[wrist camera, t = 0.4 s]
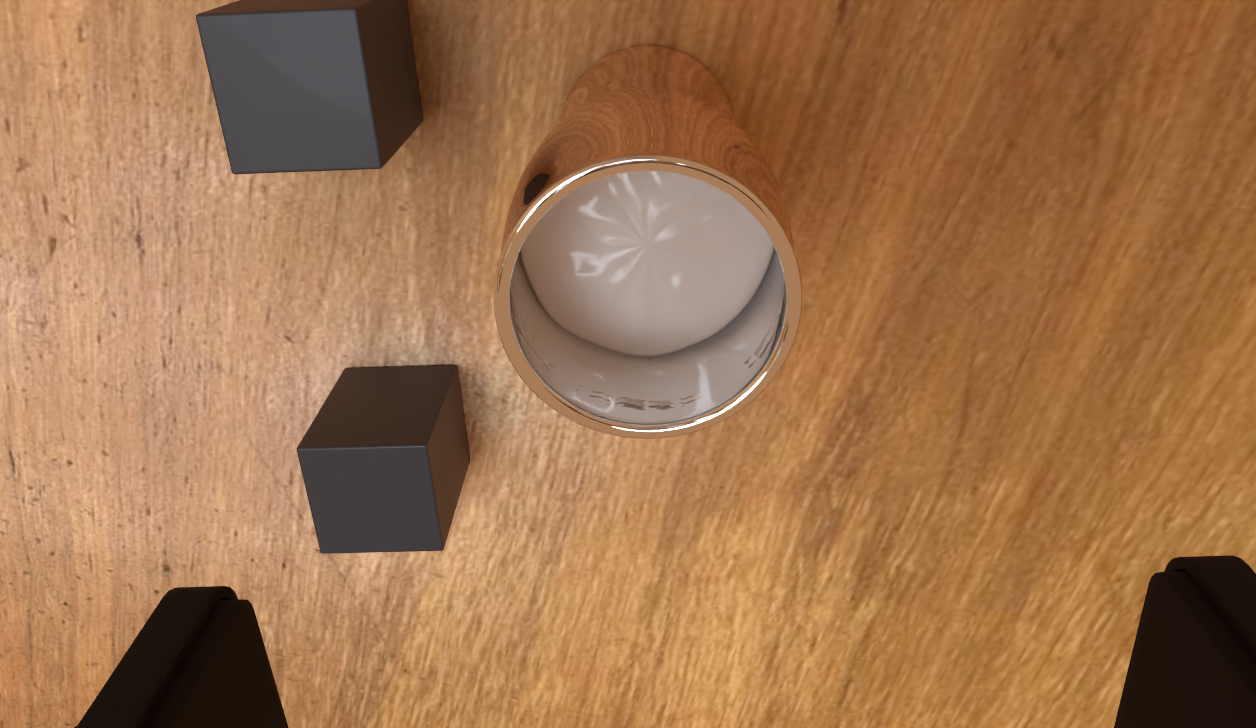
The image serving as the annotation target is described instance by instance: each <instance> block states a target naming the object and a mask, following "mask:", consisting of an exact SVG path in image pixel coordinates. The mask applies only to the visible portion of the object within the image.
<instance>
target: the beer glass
mask: <svg viewBox="0 0 1256 728" xmlns="http://www.w3.org/2000/svg"><path fill="white" fill-rule="evenodd" d="M801 309H802V283H801V276H800V270H799V265H798V262H797V258H796V255H795V249H794V243H793V237H792V232H791V226H790V221H789V217H788V214H787V210H786V207H785V204H784V200H783V197H782V194H781V191H780V188H779V186H778V183H777V181H776V179H775V176H774V175H773V173H772V171H771V169H770V167H769V165H768V163H767V162H766V160H765V158H764V156H763V154H762V153H761V151H760V150H759V148H758V147H757V145H756V144H755V142H754V141H753V140H752V139H751V137H750V136H749V135H748V134H747V133H746V132H745V131H744V130H743V129H742V128H741V127H740V126H739V125H738V124H737V123H736V122H735V121H734V118H733V113H732V109H731V106H730V103H729V100H728V98H727V96H726V93H725V92H724V90H723V88H722V86H721V85H720V83H719V82H718V80H717V79H716V78H715V77H714V75H713V74H712V73H711V72H710V71H709V70H708V69H707V68H706V67H705V66H703V65H702V64H701V63H700V62H698V61H697V60H695V59H694V58H692V57H690V56H688V55H687V54H684V53H682V52H680V51H677V50H674V49H671V48H667V47H662V46H653V45H641V46H633V47H628V48H624V49H621V50H618V51H616V52H613V53H611V54H609V55H607V56H605V57H603V58H602V59H600V60H599V61H597V62H596V63H594V64H593V65H592V66H591V67H589V68H588V69H587V70H586V71H585V72H584V73H583V74H582V75H581V76H580V78H579V79H578V80H577V81H576V83H575V84H574V86H573V87H572V89H571V91H570V93H569V94H568V97H567V99H566V101H565V104H564V107H563V110H562V114H561V120H560V123H559V124H558V125H556V126H555V127H554V128H553V129H552V130H551V131H550V132H549V134H548V135H547V136H546V137H545V138H544V139H543V141H542V142H541V143H540V145H539V146H538V147H537V149H536V150H535V152H534V154H533V155H532V157H531V159H530V161H529V163H528V164H527V166H526V168H525V170H524V172H523V174H522V176H521V178H520V180H519V182H518V184H517V187H516V190H515V193H514V196H513V199H512V202H511V206H510V209H509V212H508V216H507V220H506V224H505V229H504V235H503V241H502V247H501V255H500V258H499V262H498V265H497V270H496V275H495V282H494V311H495V318H496V323H497V328H498V332H499V335H500V338H501V341H502V344H503V347H504V349H505V351H506V354H507V355H508V357H509V359H510V361H511V363H512V365H513V366H514V368H515V370H516V371H517V373H518V374H519V375H520V377H521V378H522V379H523V381H524V382H525V383H526V384H527V385H528V387H529V388H530V389H531V390H532V391H533V392H534V393H535V394H536V395H537V396H538V397H539V398H540V399H541V400H543V401H544V402H545V403H546V404H547V405H549V406H550V407H551V408H553V409H554V410H556V411H557V412H559V413H560V414H562V415H563V416H565V417H567V418H569V419H570V420H572V421H574V422H576V423H578V424H581V425H583V426H585V427H588V428H591V429H593V430H596V431H600V432H603V433H607V434H611V435H616V436H621V437H629V438H643V439H653V438H667V437H674V436H680V435H684V434H689V433H692V432H696V431H699V430H702V429H705V428H707V427H710V426H712V425H715V424H717V423H719V422H721V421H723V420H725V419H727V418H729V417H730V416H732V415H734V414H735V413H737V412H738V411H740V410H741V409H743V408H744V407H745V406H747V405H748V404H749V403H750V402H752V401H753V400H754V399H755V398H756V397H757V396H758V395H759V394H760V393H761V392H762V391H763V390H764V389H765V388H766V387H767V386H768V385H769V384H770V383H771V381H772V380H773V379H774V378H775V376H776V375H777V373H778V372H779V370H780V369H781V367H782V366H783V364H784V362H785V360H786V358H787V357H788V355H789V353H790V350H791V348H792V346H793V343H794V340H795V337H796V334H797V331H798V327H799V322H800V316H801Z"/></svg>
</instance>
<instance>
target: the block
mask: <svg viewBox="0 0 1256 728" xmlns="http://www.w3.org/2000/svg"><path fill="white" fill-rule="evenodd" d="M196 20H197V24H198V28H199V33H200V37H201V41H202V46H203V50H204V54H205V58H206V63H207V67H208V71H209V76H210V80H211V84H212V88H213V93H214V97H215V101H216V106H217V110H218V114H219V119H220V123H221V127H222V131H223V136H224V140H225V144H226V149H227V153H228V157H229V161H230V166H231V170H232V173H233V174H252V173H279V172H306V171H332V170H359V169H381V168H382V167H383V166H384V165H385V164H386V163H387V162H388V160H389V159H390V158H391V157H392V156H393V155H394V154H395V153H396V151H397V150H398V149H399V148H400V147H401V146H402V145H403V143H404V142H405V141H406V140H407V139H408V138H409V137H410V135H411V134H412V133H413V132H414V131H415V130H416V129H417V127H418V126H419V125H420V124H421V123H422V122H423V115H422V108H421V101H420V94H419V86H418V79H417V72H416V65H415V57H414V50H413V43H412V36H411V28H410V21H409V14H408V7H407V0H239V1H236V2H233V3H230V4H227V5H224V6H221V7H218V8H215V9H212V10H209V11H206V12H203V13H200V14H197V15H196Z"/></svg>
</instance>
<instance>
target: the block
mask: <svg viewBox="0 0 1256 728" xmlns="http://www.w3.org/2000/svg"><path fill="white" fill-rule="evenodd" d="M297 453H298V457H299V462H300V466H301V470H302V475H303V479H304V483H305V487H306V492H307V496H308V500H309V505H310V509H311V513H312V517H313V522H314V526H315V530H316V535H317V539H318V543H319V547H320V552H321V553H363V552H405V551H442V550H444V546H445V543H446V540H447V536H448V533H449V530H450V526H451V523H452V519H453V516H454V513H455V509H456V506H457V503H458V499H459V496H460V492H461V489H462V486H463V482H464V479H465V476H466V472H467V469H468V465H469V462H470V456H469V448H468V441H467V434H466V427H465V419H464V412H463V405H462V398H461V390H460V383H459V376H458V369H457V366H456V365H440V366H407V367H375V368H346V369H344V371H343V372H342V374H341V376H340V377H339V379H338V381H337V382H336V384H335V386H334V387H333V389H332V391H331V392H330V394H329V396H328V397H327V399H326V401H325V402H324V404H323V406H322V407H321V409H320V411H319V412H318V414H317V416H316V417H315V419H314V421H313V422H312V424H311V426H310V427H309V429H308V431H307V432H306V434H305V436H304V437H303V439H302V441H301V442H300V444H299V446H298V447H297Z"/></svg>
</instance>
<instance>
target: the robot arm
mask: <svg viewBox="0 0 1256 728" xmlns="http://www.w3.org/2000/svg"><path fill="white" fill-rule="evenodd" d="M74 728H288V725H287V721H286V718H285V715H284V711H283V708H282V704H281V701H280V697H279V694H278V691H277V687H276V684H275V680H274V677H273V673H272V670H271V667H270V663H269V660H268V656H267V653H266V650H265V646H264V643H263V639H262V636H261V632H260V629H259V626H258V622H257V619H256V615H255V612H254V609H253V607H252V604H251V603H250V602H249V601H248V600H238V598H237V596H236V593H235V592H234V591H233V590H232V589H231V588H230V587H226V586H215V587H182V588H174V589H172V590H169V591H168V592H167V593H166V595H165V596H164V597H163V598H162V600H161V601H160V603H159V604H158V606H157V607H156V609H155V610H154V612H153V613H152V615H151V616H150V618H149V619H148V621H147V622H146V624H145V625H144V627H143V628H142V630H141V631H140V633H139V634H138V636H137V637H136V639H135V640H134V642H133V643H132V645H131V646H130V648H129V649H128V651H127V652H126V654H125V655H124V657H123V658H122V660H121V661H120V663H119V664H118V666H117V667H116V669H115V670H114V672H113V673H112V675H111V676H110V678H109V679H108V681H107V682H106V684H105V685H104V687H103V688H102V690H101V691H100V693H99V694H98V696H97V697H96V699H95V700H94V702H93V703H92V705H91V706H90V708H89V709H88V711H87V712H86V714H85V715H84V717H83V718H82V720H81V721H80V723H79V724H78V725H77V726H76V727H74ZM1114 728H1256V573H1255V572H1254V571H1253V570H1252V569H1251V568H1250V566H1249V565H1248V564H1247V563H1245V562H1244V561H1243V560H1242V559H1241V558H1238V557H1235V556H1201V557H1178V558H1174V559H1172V560H1171V561H1170V562H1169V563H1168V564H1167V567H1166V570H1165V572H1159V573H1155V574H1154V575H1153V576H1152V577H1151V580H1150V582H1149V585H1148V590H1147V594H1146V598H1145V602H1144V606H1143V610H1142V614H1141V618H1140V623H1139V627H1138V631H1137V635H1136V639H1135V643H1134V647H1133V651H1132V656H1131V660H1130V664H1129V668H1128V672H1127V676H1126V680H1125V684H1124V689H1123V693H1122V697H1121V701H1120V705H1119V709H1118V713H1117V717H1116V722H1115V726H1114Z"/></svg>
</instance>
